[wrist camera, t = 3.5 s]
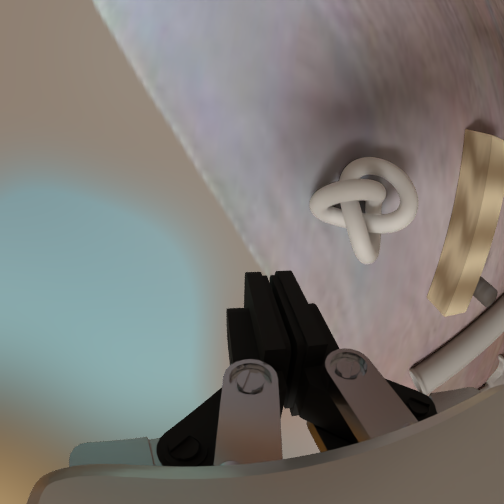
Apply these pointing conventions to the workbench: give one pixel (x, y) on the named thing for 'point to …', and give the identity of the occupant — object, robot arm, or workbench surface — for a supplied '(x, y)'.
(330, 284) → the workbench surface
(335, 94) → the workbench surface
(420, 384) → the tube
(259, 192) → the workbench surface
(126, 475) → the robot arm
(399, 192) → the knot
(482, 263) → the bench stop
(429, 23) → the workbench surface
